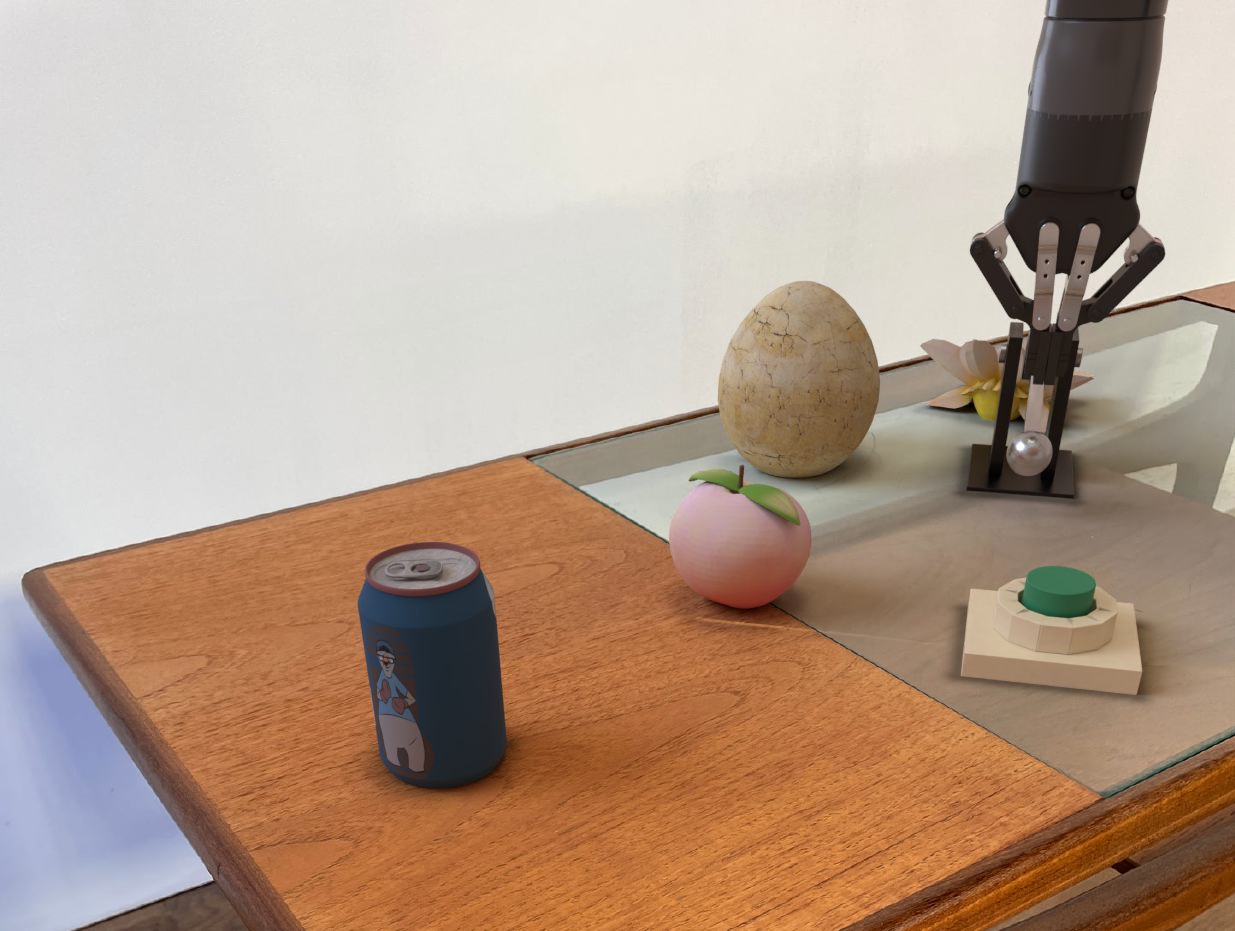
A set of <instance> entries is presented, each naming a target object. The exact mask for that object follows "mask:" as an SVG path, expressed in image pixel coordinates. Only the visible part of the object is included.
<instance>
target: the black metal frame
mask: <svg viewBox="0 0 1235 931" xmlns="http://www.w3.org/2000/svg"><path fill="white" fill-rule="evenodd" d="M1024 326H1025V322H1022V321H1020V322H1019V321H1010V322H1009V329H1008V336H1007V342H1006V343H1007V344H1005V343H1000V345H999V348H1000V352H999V359H998V363H1004V367H1003V373H1002V380H1001V386H1000V393H999V399H998V406H997V412H996V419H995V421H994V427H993V433H992V439H991V444H984V443H983V444H982V443H981V444H980V443H972V444H971V450H970V459H969V467H968V475H967V483H966V491H967V492H978V493H992V494H993V493H994V494H1006V495H1017V496H1018V495H1020V496H1031V497H1045V498H1056V499H1057V498H1059V499H1070V500H1071V499H1072V500H1074V498H1075V485H1074V467H1073V451H1072V450H1068V449H1061V444H1062V443H1061V442H1062V437H1063V433H1064V432H1063V431H1064V427H1065V421H1066V415H1067V411H1068V410H1067V409H1068V405H1069V401H1070V400H1069V399H1070V394H1071V390H1070V389H1071V384H1072V379H1073V373H1074V371H1075V368H1081V364H1082V361H1083V352H1084V348H1083V347H1079V346H1080V332H1079V327H1078V328H1077V329H1076V330H1075V332H1074V334H1073V339H1072V345H1071V351H1070V357H1069V362H1068V368H1067V371H1066V373H1065V375H1064V376H1063V377H1056V378H1055V384H1054V387H1053V392H1052V397H1051V398H1050V402H1049V405H1050V409H1049V415H1048V420H1047V426H1046V432H1044V435H1045V436H1047V438H1048V439H1049V440H1050V442H1051V445H1052V458H1051V461H1050V463H1049V465H1048V466H1047V467H1046V468H1045V469H1044V470H1043V471H1042V472H1040V473H1038V474H1036V475H1033V476H1022V475H1019V474H1017V473H1015V472H1014V471H1013V470H1012V469H1011V468H1010V466H1009V465H1008V462H1007V457H1006V453H1007V448H1008V446H1009V445H1007V441H1008V436H1009V428H1010V422H1011V421H1010V417H1011V411H1012V405H1013V399H1014V392H1015V386H1016V380H1017V374H1018V367H1019V361H1020V355H1021V349H1022V348H1023V343H1024V330H1025V329H1024Z"/></svg>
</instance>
